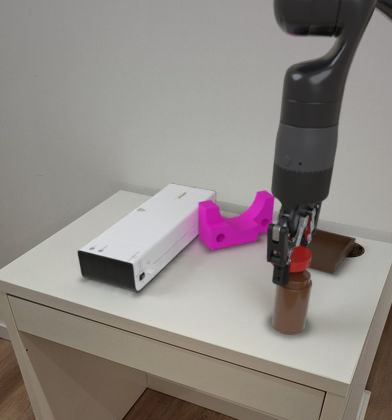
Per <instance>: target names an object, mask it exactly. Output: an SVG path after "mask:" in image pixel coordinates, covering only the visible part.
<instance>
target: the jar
mask: <svg viewBox="0 0 392 420" xmlns="http://www.w3.org/2000/svg"><path fill="white" fill-rule="evenodd" d="M311 278H312V275H311V272H310V271H309V270H308V269H306V270H304V271H300V272H290V273H289V281H288V284H287V285H286V286H285V287H283V286H280V285H276V284H275V293H274V300H273V308H272V309H273V310H272V319H271V326H272V327H273V329H274V330H275V331H276V332H278V333H281V334H283V335H297V334H300V333H302V332H303V331H304V330H305V328H306V322H307V317H308V310H309V306H310V301H311V294H312V287H313V280H312V279H311Z"/></svg>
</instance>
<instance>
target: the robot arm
mask: <svg viewBox="0 0 392 420" xmlns="http://www.w3.org/2000/svg"><path fill="white" fill-rule="evenodd" d="M272 8H273V10H272V11H273V16H274V20H275V23H276V25H277V26H278V28H279V30H281V31H282V32H283V34H286V36H289V37H293V38H324V39H325V38H327V39H328V38H329V39H330V38H331V39H332V38H334V39H335V41H334V43H333V44H332V46H331V48H330V49H329V50H328V51H327V52H326V53H325V54H324V55H322V56H319V57H317V58H312V59H308V60H303V61H299V62H296V63H293V64H291V65H290V66H289V67H287V69H286V70H285V73H284V76H283V81H282V82H283V83H282V91H281V103H280V112H279V123H278V127H277V132H276V136H275V144H274V145H275V146H274V154H273V155H274V156H273V165H272V175H271V184H270V185H271V187H270V191H271V195H273V196H274V197H275V199H276V200H278V201H279V203H280V204H281V206H280V209H278V212H277V216H276V222H277V223H273V222H272V223H270V224H269V225H268V228H267V232H266V263H270V264H271V263H273V264H274V266H273V268H272V269H273V270H272V279H271V281H272V284H273V285H275V286H276V285H280V286H283V287H285V286H286V285H287V284H288V281H289V273H290V266H291V261H292V256H293V253H294V249H295V248H298V247H299V245H301V246H304V247H306V248H307V247H308V244H309V243H310V241H311V234H312V235H314V234H315V233H316V229H318V224H319V218H320V214H321V209H322V204H323V202H324V201H325V200H327V199H328V197H329V194H330V190H331V184H332V183H331V182H332V177H333V174H334V173H333V171H334V166H335V160H336V154H337V148H338V142H339V126H340V119H341V112H342V107H343V100H344V96H345V90H346V85H347V81H348V77H349V74H350V71H351V67H352V64H353V62H354V59H355V56H356V53H357V51H358V49H359V46H360V44H361V42H362V40H363V37H364V36H365V32H366V30H367V28H368V26H369V23H370V22H371V19H372V18H373V15H374V12H375V11H376V12H377V13H379V14H380V15H381V16H382V17H383V18H385V19H386V20H387V21H389V23H391V24H392V0H273V1H272ZM288 237H291V238H293V240H294V241H289V240H288ZM307 243H308V244H307ZM288 248H289V249H288ZM287 251H288V253H287Z"/></svg>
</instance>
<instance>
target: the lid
mask: <svg viewBox="0 0 392 420" xmlns="http://www.w3.org/2000/svg"><path fill="white" fill-rule="evenodd" d="M288 249H289V248H288ZM287 253H288V251H287ZM311 257H312V254H311V252H310V250H309V249H307V248H306V247H304V246H301V245H299V247H298V248H295V249H294V253H293V256H292V261H291V266H290V272H300V271H304V270H308V269H310V268H309V267H310V263H311ZM270 265H271V266H273V267H274V264H273V263H270Z"/></svg>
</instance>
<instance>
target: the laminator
mask: <svg viewBox="0 0 392 420" xmlns="http://www.w3.org/2000/svg"><path fill="white" fill-rule="evenodd" d="M207 200H212V201H213V202H214V203H215V204H216V205H217V191H216V190H212V189H207V188H201V187H196V186H190V185H185V184H184V185H183V184H179V183H173V182H171V183H169V184H168V185H166V186H165V187H164V188H162V189H161V190H159V191H158V192H157V193H155V194H154V195H153V196H151V197H150V198H148V199H147V200H146V201H144V202H143V203H142V204H140V205H139V206H138V207H136V208H135V209H133V210H132V211H130V212H129V213H127V214H126V215H125V216H123V217H122V218H121V219H120V220H118V221H117V222H115V223H114V224H113V225H111V226H110V227H108V228H107V229H105V230H104V231H103V232H101V233H100V234H99V235H97V236H96V237H94V238H93V239H92V240H90V241H89V242H88V243H86V244H85V245H83V246H82V247H81V248H79V249H78V250H77V251H76V252H77V258H78V263H79V269H80V273H81V276H82V278H84V279H91V280H94V281H98V282H101V283H105V284H108V285H112V286H116V287H120V288H124V289H127V290H131V291H133V292H134V291H135V292H136V293H139V292H141V291H142V290H143V289H144V288H145V287H146V286H147V285H148V284H150V282H152V280H154V279H155V278H156V277H157V276H158V275H159V274H160V273H161V272H162V271H163V270H164V269H165V268H166V267H168V265H169V264H170V263H171V262H172V261H173V260H174V259H175V258H176V257H177V256H179V255H180V254H181V252H183V251H184V250H185V249H186V247H188V246H189V245H190V244H191V243H192V242H193V241H194V240H195V239H196V238H197V237H199V202H202V201H207Z"/></svg>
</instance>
